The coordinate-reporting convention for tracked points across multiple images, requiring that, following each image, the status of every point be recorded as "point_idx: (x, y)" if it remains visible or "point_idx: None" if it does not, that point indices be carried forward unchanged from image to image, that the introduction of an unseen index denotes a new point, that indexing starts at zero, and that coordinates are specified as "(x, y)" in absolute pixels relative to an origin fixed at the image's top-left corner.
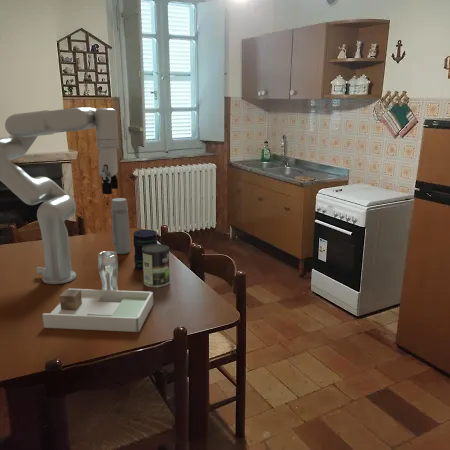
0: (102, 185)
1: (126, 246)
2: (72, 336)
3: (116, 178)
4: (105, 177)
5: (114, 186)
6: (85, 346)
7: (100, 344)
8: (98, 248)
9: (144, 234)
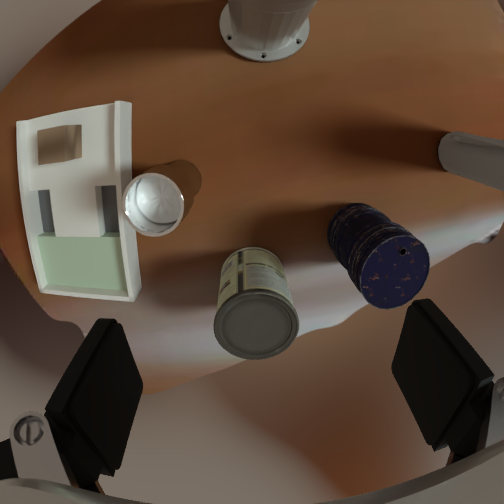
0: (62, 386)
1: (452, 169)
2: None
3: (436, 446)
4: None
5: (404, 364)
6: (6, 216)
7: (14, 235)
8: (470, 89)
9: (384, 275)
